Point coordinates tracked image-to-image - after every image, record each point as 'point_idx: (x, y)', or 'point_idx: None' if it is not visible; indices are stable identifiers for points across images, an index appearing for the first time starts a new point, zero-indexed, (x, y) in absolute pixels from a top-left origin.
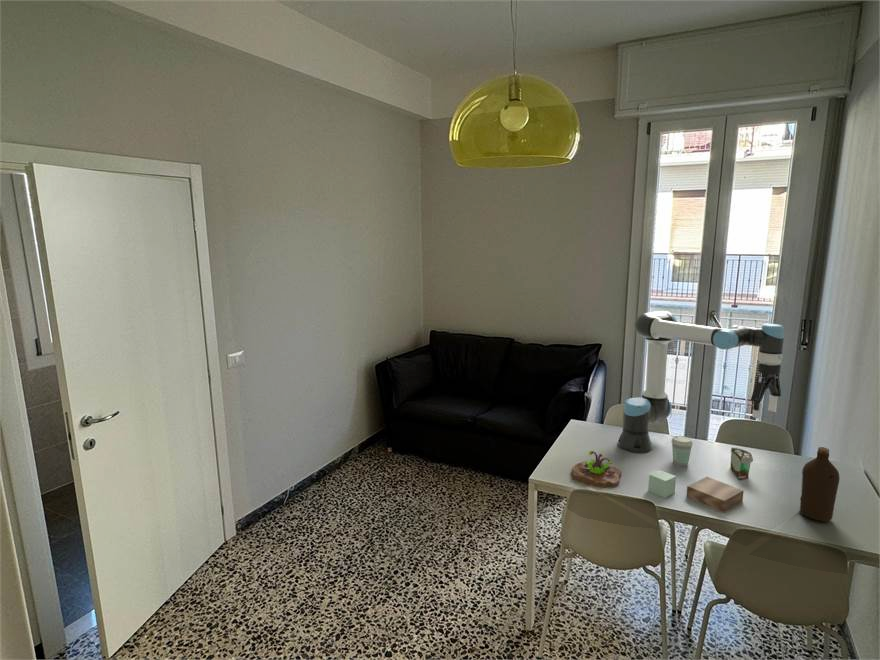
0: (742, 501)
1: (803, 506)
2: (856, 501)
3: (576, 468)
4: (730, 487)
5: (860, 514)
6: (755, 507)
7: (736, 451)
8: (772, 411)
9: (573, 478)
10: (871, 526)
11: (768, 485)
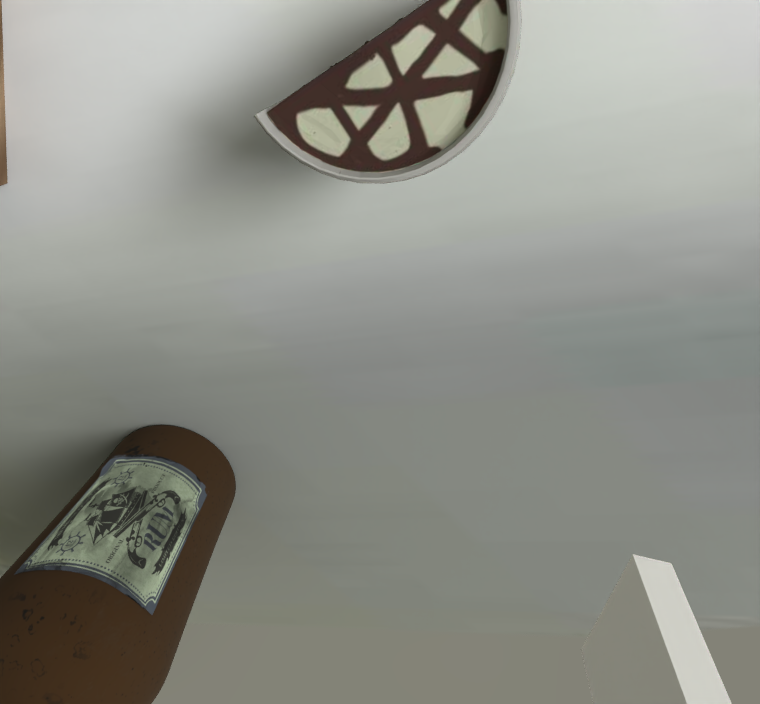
0: (5, 183)
1: (106, 459)
2: (457, 591)
3: None
4: None
5: (321, 599)
6: (2, 254)
7: (460, 15)
8: (601, 616)
9: None
10: (235, 622)
11: (363, 261)
